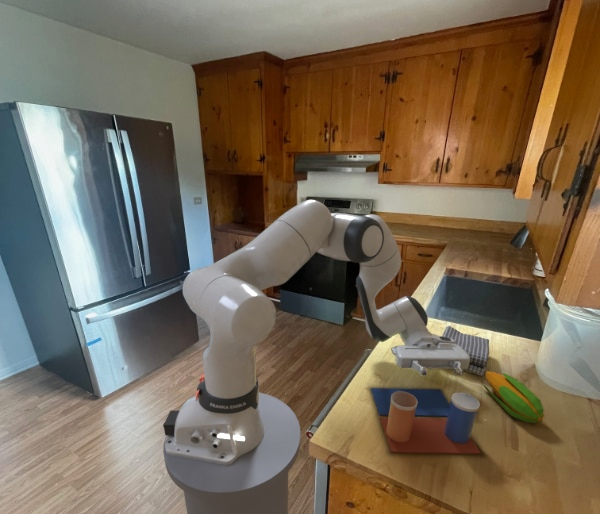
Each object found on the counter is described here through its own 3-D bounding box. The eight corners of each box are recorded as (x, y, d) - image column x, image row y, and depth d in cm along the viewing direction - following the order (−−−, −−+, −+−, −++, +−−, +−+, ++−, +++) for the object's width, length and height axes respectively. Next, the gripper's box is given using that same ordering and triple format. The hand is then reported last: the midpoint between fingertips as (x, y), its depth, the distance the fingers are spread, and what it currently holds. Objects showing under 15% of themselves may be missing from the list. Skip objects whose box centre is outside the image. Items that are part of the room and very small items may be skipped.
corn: (531, 406, 77) (478, 360, 96) (520, 431, 80) (470, 382, 98) (558, 405, 78) (500, 360, 97) (546, 430, 81) (492, 382, 100)
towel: (432, 365, 107) (437, 344, 104) (440, 341, 122) (444, 322, 119) (485, 379, 100) (491, 357, 97) (486, 352, 115) (491, 332, 112)
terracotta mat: (391, 452, 73) (391, 451, 73) (380, 418, 83) (380, 417, 83) (480, 454, 73) (480, 453, 73) (458, 419, 84) (458, 418, 84)
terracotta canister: (389, 442, 76) (394, 407, 72) (383, 424, 81) (388, 391, 77) (414, 443, 76) (421, 408, 72) (406, 424, 81) (412, 391, 77)
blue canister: (449, 443, 76) (458, 408, 72) (439, 425, 81) (447, 392, 77) (474, 444, 76) (484, 409, 72) (463, 425, 81) (472, 392, 77)
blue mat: (379, 415, 84) (379, 414, 84) (370, 388, 95) (370, 388, 94) (456, 416, 85) (456, 415, 84) (439, 390, 95) (440, 389, 95)
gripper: (390, 337, 99) (404, 362, 86) (458, 338, 99) (482, 363, 86) (388, 355, 101) (401, 382, 88) (454, 356, 101) (476, 383, 89)
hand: (441, 373), depth 87 cm, fingers open, 8 cm apart
